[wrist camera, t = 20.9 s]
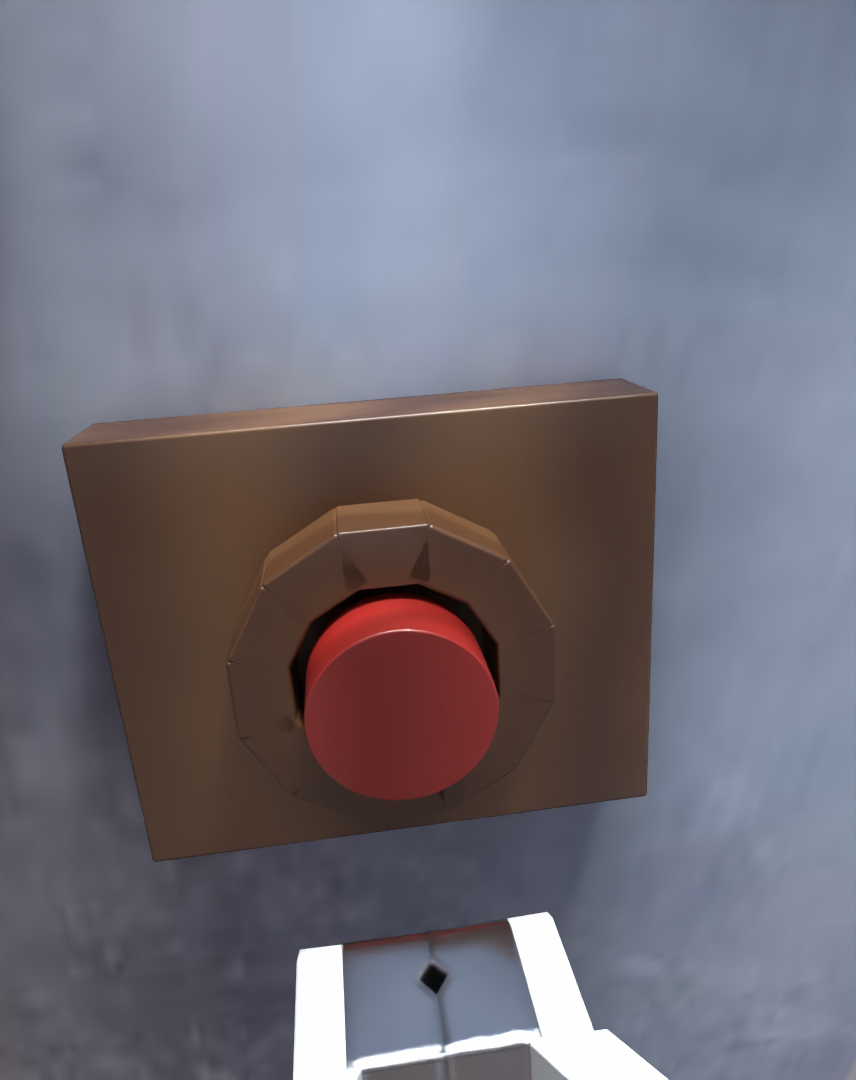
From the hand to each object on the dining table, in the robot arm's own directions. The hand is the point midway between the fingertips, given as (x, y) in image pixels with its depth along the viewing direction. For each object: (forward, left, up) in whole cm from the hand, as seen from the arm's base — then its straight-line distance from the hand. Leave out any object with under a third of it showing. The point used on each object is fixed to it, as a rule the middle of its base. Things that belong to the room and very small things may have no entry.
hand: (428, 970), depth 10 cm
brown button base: (0, 0, -11) cm, 11 cm away
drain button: (0, 0, -7) cm, 7 cm away
